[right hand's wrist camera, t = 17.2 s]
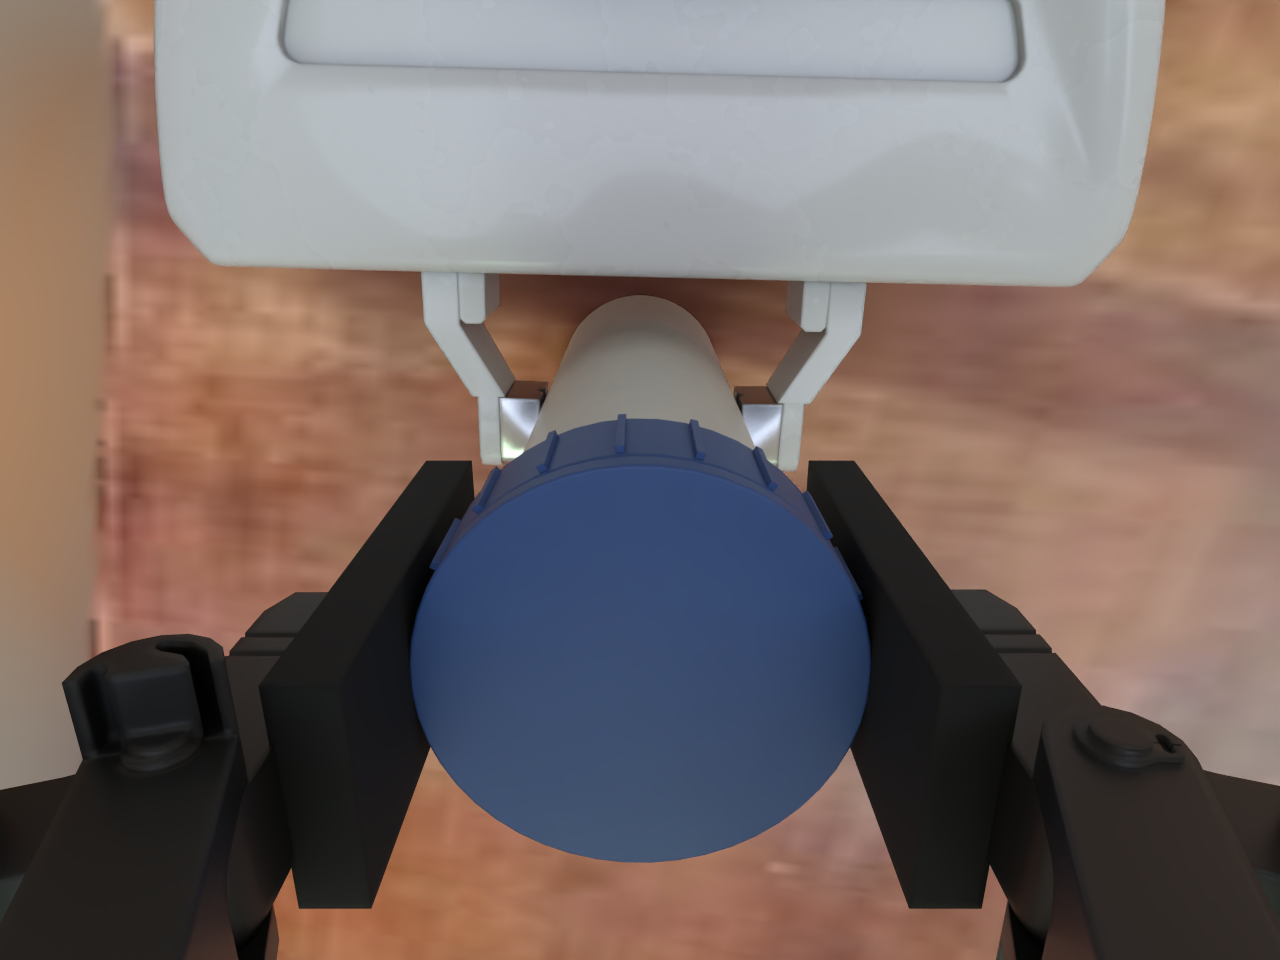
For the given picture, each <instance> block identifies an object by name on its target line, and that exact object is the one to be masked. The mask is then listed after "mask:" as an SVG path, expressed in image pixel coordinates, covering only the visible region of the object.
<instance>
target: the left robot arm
mask: <svg viewBox="0 0 1280 960" xmlns="http://www.w3.org/2000/svg"><path fill="white" fill-rule="evenodd" d="M1165 2H1166V0H154V74H155V99H156V117H157V131H158V145H159V155H160V165H161V176H162V184H163V190H164V197H165V202H166V206H167V209H168V213H169V215H170V217H171V219H172V220H173V222H174V223H175V224H176V226H177V227H178V228H179V229H180V230H181V231H182V232H183V234H184V235H185V236H186V237H187V238H188V239H189V240H190V242H191V243H192V244H193V245H194V246H195V247H196V248H197V250H198V251H199V252H200V253H201V254H202V255H203V256H204V257H205V258H206V259H207V260H208V261H209V262H211V263H213V264H215V265H218V266H224V267H257V268H297V269H338V270H378V271H419V272H421V281H422V296H423V312H424V324H425V325H426V327H427V328H428V330H429V331H430V333H431V335H432V336H433V338H434V339H435V341H436V342H437V344H438V345H439V347H440V348H441V350H442V351H443V353H444V354H445V356H446V357H447V359H448V361H449V362H450V364H451V365H452V367H453V368H454V370H455V371H456V373H457V374H458V376H459V377H460V379H461V380H462V382H463V383H464V385H465V386H466V388H467V390H468V391H469V393H470V394H471V396H473V397H478V418H479V440H480V457H481V460H482V464H487V465H500V466H503V465H507V464H508V463H510V462H511V461H513V460H514V459H515V458H517V457H518V456H519V455H521V454H522V453H523V451H524V449H525V446H526V444H527V442H528V439H529V437H530V435H531V432H532V430H533V427H534V425H535V423H536V420H537V418H538V416H539V413H540V411H541V409H542V406H543V404H544V401H545V399H546V397H547V394H548V383H547V382H537V381H516V380H515V377H514V375H513V373H512V372H511V370H510V368H509V367H508V365H507V363H506V361H505V360H504V358H503V356H502V354H501V353H500V351H499V349H498V348H497V346H496V344H495V342H494V341H493V339H492V337H491V335H490V334H489V332H488V330H487V328H486V327H485V325H484V323H483V321H484V320H485V319H487V318H488V317H489V316H490V315H491V314H492V313H493V312H494V311H495V310H496V309H497V308H498V307H499V306H500V277H499V273H500V274H541V275H581V276H622V277H662V278H703V279H743V280H784V281H788V282H787V297H786V314H787V315H788V316H789V317H790V318H791V319H792V320H793V321H794V322H795V323H796V324H797V325H799V326H800V327H801V328H802V330H801V332H800V333H799V335H798V336H797V338H796V339H795V341H794V342H793V344H792V345H791V347H790V349H789V350H788V352H787V353H786V355H785V356H784V358H783V359H782V361H781V362H780V364H779V365H778V367H777V369H776V370H775V372H774V373H773V375H772V376H771V378H770V379H769V381H768V382H767V384H766V385H767V386H734V398H735V400H736V403H737V405H738V408H739V410H740V412H741V415H742V417H743V419H744V422H745V424H746V426H747V429H748V431H749V433H750V436H751V438H752V441H753V443H754V445H755V447H756V446H758V447H760V448H761V449H763V451H764V454H765V456H766V458H767V460H768V461H769V462H771V463H772V464H773V465H775V466H776V467H777V468H778V469H780V470H781V471H782V472H795V471H796V470H797V466H798V463H799V456H800V445H801V435H802V424H803V414H804V405H806V404H810V403H811V402H812V401H813V399H814V398H815V397H816V395H817V394H818V392H819V391H820V390H821V388H822V387H823V386H824V384H825V383H826V382H827V380H828V379H829V377H830V376H831V375H832V373H833V372H834V371H835V369H836V368H837V366H838V365H839V364H840V362H841V361H842V360H843V358H844V357H845V356H846V354H847V353H848V351H849V350H850V349H851V347H852V346H853V345H854V343H855V342H856V341H857V339H858V338H859V336H860V335H861V329H862V320H863V312H864V304H865V295H866V287H867V283H906V284H946V285H987V286H1028V287H1072V286H1076V285H1078V284H1080V283H1081V282H1083V281H1084V280H1085V279H1086V278H1087V277H1088V276H1089V275H1091V274H1092V273H1093V272H1094V271H1095V270H1096V269H1097V268H1098V267H1099V266H1100V264H1101V263H1102V262H1103V261H1104V260H1105V259H1106V258H1107V257H1108V256H1109V255H1110V254H1111V253H1112V252H1113V251H1114V249H1115V248H1116V247H1117V246H1118V245H1119V244H1120V243H1121V242H1122V240H1123V238H1124V237H1125V235H1126V233H1127V230H1128V228H1129V225H1130V222H1131V219H1132V216H1133V212H1134V208H1135V204H1136V200H1137V196H1138V192H1139V187H1140V182H1141V177H1142V172H1143V167H1144V162H1145V156H1146V151H1147V146H1148V140H1149V134H1150V128H1151V122H1152V116H1153V110H1154V103H1155V95H1156V87H1157V80H1158V72H1159V64H1160V55H1161V46H1162V36H1163V27H1164V15H1165Z"/></svg>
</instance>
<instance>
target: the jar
mask: <svg viewBox="0 0 1280 960" xmlns="http://www.w3.org/2000/svg"><path fill="white" fill-rule="evenodd" d="M618 414H626V419H630V418H631V419H662V420H669V421H676V422H683V423H688V424H689V422H690V419H693V420H697V421H698V423H699V427H702V428H706V429H709V430H713V431H715V432H718V433H720V434H722V435H725V436H727V437H729V438H732V439H734V440H736V441H738V442H740V443H742V444H744V445H745V446H747V447H749V448H750V449H752V450H754V448H755V445H754V443H753V441H752V438H751V436H750V433H749V431H748V429H747V426H746V424H745V422H744V419H743V417H742V415H741V412H740V410H739V408H738V405H737V403H736V400H735V398H734V396H733V393H732V391H731V389H730V386H729V384H728V382H727V379H726V377H725V375H724V372H723V370H722V367H721V365H720V363H719V360H718V358H717V356H716V353H715V351H714V349H713V346H712V344H711V341H710V339H709V337H708V335H707V334H706V332H705V330H704V329H703V327H702V326H701V325H700V323H699V322H698V321H697V320H696V319H695V318H694V317H693V316H692V315H691V314H690V313H689V312H687V311H686V310H685V309H684V308H682V307H680V306H678V305H677V304H675V303H673V302H670V301H668V300H666V299H662V298H659V297H654V296H647V295H633V296H626V297H622V298H618V299H615V300H612V301H610V302H607V303H605V304H604V305H602V306H600V307H598V308H597V309H595V310H594V311H593V312H592V313H590V314H589V315H588V316H587V317H586V318H585V319H584V320H583V321H582V322H581V324H580V325H579V326H578V328H577V329H576V330H575V332H574V334H573V336H572V338H571V340H570V342H569V344H568V347H567V349H566V352H565V354H564V356H563V359H562V361H561V363H560V366H559V368H558V371H557V373H556V375H555V378H554V380H553V382H552V385H551V387H550V390H549V392H548V394H547V397H546V399H545V401H544V404H543V406H542V409H541V411H540V413H539V416H538V418H537V420H536V423H535V425H534V427H533V430H532V432H531V435H530V437H529V439H528V442H527V444H526V446H525V449H524V451H523V452H525V451H526V450H528V449H530V448H532V447H534V446H536V445H537V444H539V443H541V442H543V441H545V440H546V438H547V435H548V433H549V432H551V431H554V430H556V432H557V434H561V433H564V432H566V431H569V430H571V429H574V428H578V427H582V426H586V425H590V424H594V423H598V422H603V421H612V420H617V419H618Z"/></svg>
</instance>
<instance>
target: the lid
mask: <svg viewBox="0 0 1280 960" xmlns="http://www.w3.org/2000/svg"><path fill="white" fill-rule="evenodd" d="M832 537H833V535H832V533H831V532H830V530H829V528H828V526H827V524H826V522H825V520H824V518H823V517H822V515H821V513H820V511H819V509H818V507H817V505H816V503H815V502H814V500H813V498H812V496H811V495H810V493H809V492H808V491H805V492H804V493H803V494H802V493H801V491H800V490H799V489H798V488H797V487H796V486H795V485H794V483H793V482H792V481H791V480H790V479H789V478H788V477H787V476H786V475H785V474H784V473H783V472H782V471H781V470H780V469H778V468H777V467H776V466H775V465H773V464H772V463H771V462H769V461H768V460H767V458H766V456H765V454H764V451H763V449H761V448H760V447H758V446H756V447H755V448H754V450H752V449H750V448H749V447H747V446H745V445H744V444H742V443H740V442H738V441H736V440H734V439H732V438H729V437H727V436H725V435H722V434H720V433H718V432H715V431H713V430H709V429H706V428H702V427H699V423H698V421H697V420H693V419H690V422H689V424H688V423H683V422H676V421H669V420H662V419H631V418H630V419H626V414H618V419H617V420H612V421H603V422H598V423H594V424H590V425H586V426H582V427H578V428H574V429H571V430H569V431H566V432H564V433H561V434H557V432H556V430H554V431H551V432H549V433H548V435H547V438H546V440H545V441H543V442H541V443H539V444H537V445H536V446H534V447H532V448H530V449H528V450H526V451H525V452H523V453H522V454H521V455H519V456H518V457H517V458H515V459H514V460H513V461H511V462H510V463H508V464H507V465H506V466H504V467H503V468H502V469H501V470H499V469H498V468H497V467H495V468H494V469H493V470H492V471H491V472H490V474H489V476H488V478H487V480H486V482H485V484H484V486H483V488H482V490H481V491H480V493H479V494H478V495H477V496H476V498H475V499H474V500H473V502H472V503H471V504H470V506H469V508H468V509H467V511H466V513H465V515H464V516H463V518H462V520H459V519H457V518H455V520H454V522H453V523H452V525H451V527H450V529H449V531H448V533H447V535H446V536H445V538H444V540H443V542H442V544H441V546H440V548H439V549H438V551H437V553H436V555H435V557H434V559H433V561H432V562H431V564H430V566H429V568H431V569H433V570H435V572H434V574H433V576H432V577H431V579H430V581H429V583H428V585H427V587H426V589H425V592H424V595H423V597H422V600H421V602H420V605H419V608H418V610H417V613H416V617H415V622H414V626H413V631H412V636H411V643H410V674H411V683H412V693H413V699H414V703H415V707H416V711H417V716H418V719H419V721H420V724H421V726H422V729H423V731H424V733H425V736H426V738H427V741H428V743H429V744H430V746H431V748H432V750H433V751H434V753H435V755H436V757H437V758H438V760H439V762H440V763H441V765H442V766H443V767H444V769H445V770H446V771H447V773H448V774H449V775H450V776H451V778H452V779H453V780H454V782H455V783H456V784H457V785H458V786H459V787H460V788H461V789H462V790H463V791H464V792H465V793H466V794H467V795H468V796H469V797H470V798H471V799H472V800H473V801H474V802H475V803H476V804H477V805H479V806H480V807H481V808H482V809H484V810H485V811H486V812H488V813H489V814H490V815H491V816H493V817H494V818H495V819H497V820H498V821H500V822H502V823H503V824H505V825H507V826H508V827H510V828H511V829H513V830H515V831H516V832H518V833H520V834H522V835H524V836H526V837H529V838H531V839H533V840H535V841H537V842H539V843H542V844H544V845H547V846H550V847H553V848H556V849H559V850H562V851H565V852H568V853H571V854H576V855H580V856H585V857H589V858H594V859H600V860H609V861H617V862H649V863H651V862H662V861H673V860H681V859H686V858H691V857H696V856H701V855H706V854H709V853H712V852H716V851H719V850H722V849H725V848H729V847H732V846H734V845H736V844H739V843H741V842H743V841H746V840H748V839H750V838H753V837H755V836H757V835H759V834H760V833H762V832H764V831H766V830H767V829H769V828H771V827H773V826H774V825H776V824H778V823H780V822H781V821H782V820H784V819H785V818H786V817H788V816H789V815H791V814H792V813H793V812H795V811H796V810H797V809H799V808H800V807H801V806H802V805H803V804H804V803H805V802H807V801H808V800H809V799H810V798H811V797H812V796H813V795H814V794H815V793H816V792H817V791H818V790H819V789H820V788H821V787H822V786H823V785H824V783H825V782H826V781H827V780H828V779H829V777H830V776H831V775H832V774H833V773H834V771H835V770H836V769H837V767H838V766H839V764H840V762H841V761H842V759H843V758H844V756H845V754H846V753H847V751H848V750H849V748H850V746H851V744H852V742H853V740H854V737H855V735H856V733H857V731H858V728H859V726H860V724H861V721H862V717H863V714H864V710H865V707H866V703H867V697H868V688H869V679H870V670H871V644H870V638H869V633H868V627H867V621H866V617H865V614H864V612H863V609H862V606H861V603H860V600H863V596H862V593H861V591H860V589H859V587H858V585H857V583H856V581H855V579H854V578H853V576H852V574H851V572H850V570H849V568H848V566H847V564H846V562H845V561H844V559H843V557H842V555H841V553H840V551H839V549H838V547H833V546H832V544H831V542H830V540H829V539H830V538H832Z"/></svg>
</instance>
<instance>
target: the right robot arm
mask: <svg viewBox="0 0 1280 960" xmlns="http://www.w3.org/2000/svg"><path fill="white" fill-rule="evenodd" d="M807 491H808V492H809V493H810V495H811V496H812V498H813V500H814V502H815V503H816V505H817V507H818V509H819V511H820V513H821V515H822V517H823V518H824V520H825V522H826V524H827V526H828V528H829V530H830V532H831V533H832V535H833V537H832V538H830V539H829V540H830V542H831V544H832V546H833V547H838V549H839V551H840V553H841V555H842V557H843V559H844V561H845V562H846V564H847V566H848V568H849V570H850V572H851V574H852V576H853V578H854V579H855V581H856V583H857V585H858V587H859V589H860V591H861V593H862V596H863V600H860V603H861V606H862V609H863V612H864V614H865V617H866V621H867V627H868V633H869V638H870V644H871V670H870V679H869V688H868V697H867V703H866V707H865V710H864V714H863V717H862V721H861V724H860V726H859V728H858V731H857V733H856V735H855V737H854V740H853V742H852V744H851V746H850V748H851V751H852V754H853V756H854V759H855V762H856V765H857V767H858V770H859V773H860V775H861V778H862V781H863V784H864V786H865V789H866V792H867V795H868V797H869V800H870V803H871V805H872V808H873V811H874V814H875V816H876V819H877V822H878V825H879V827H880V830H881V833H882V836H883V838H884V841H885V844H886V846H887V849H888V852H889V855H890V857H891V860H892V863H893V866H894V868H895V871H896V874H897V876H898V879H899V882H900V885H901V887H902V890H903V893H904V896H905V898H906V901H907V904H908V907H909V909H982V903H983V898H984V892H985V887H986V881H987V876H988V871H989V865H990V866H991V868H992V870H993V872H994V874H995V876H996V878H997V879H998V881H999V883H1000V885H1001V887H1002V889H1003V891H1004V893H1005V895H1006V897H1007V899H1008V901H1007V906H1006V912H1005V917H1004V922H1003V927H1002V932H1001V937H1000V942H999V947H998V952H997V957H996V960H1280V786H1277V785H1272V784H1267V783H1262V782H1256V781H1251V780H1246V779H1241V778H1236V777H1231V776H1226V775H1221V774H1217V773H1213V772H1209V771H1205V770H1203V769H1202V767H1201V765H1200V763H1199V761H1198V759H1197V758H1196V756H1195V755H1194V754H1193V753H1192V751H1191V750H1190V749H1189V748H1188V747H1187V745H1186V744H1185V743H1184V742H1183V741H1182V740H1181V739H1179V738H1178V737H1176V736H1175V735H1174V734H1172V733H1171V732H1169V731H1168V730H1166V729H1165V728H1163V727H1162V726H1161V725H1159V724H1156V723H1154V722H1152V721H1150V720H1147V719H1145V718H1143V717H1140V716H1138V715H1136V714H1133V713H1131V712H1127V711H1123V710H1119V709H1115V708H1110V707H1106V706H1101V705H1100V703H1099V702H1098V701H1097V700H1096V699H1095V698H1094V697H1093V695H1092V694H1091V693H1090V692H1089V691H1088V690H1087V688H1086V687H1085V686H1084V685H1083V684H1082V683H1081V682H1080V680H1079V679H1078V678H1077V677H1076V676H1075V675H1074V674H1073V672H1072V671H1071V670H1070V669H1069V668H1068V667H1067V665H1066V664H1065V663H1064V662H1063V661H1062V660H1061V659H1060V657H1059V656H1058V655H1057V654H1056V653H1052V648H1051V647H1050V646H1049V645H1048V644H1047V642H1046V641H1045V640H1044V639H1043V638H1042V637H1041V635H1036V630H1035V629H1034V627H1033V626H1032V625H1031V624H1030V623H1029V622H1028V621H1027V619H1026V618H1025V617H1024V616H1023V615H1022V614H1021V612H1020V611H1019V610H1018V609H1017V608H1015V607H1014V606H1012V605H1010V604H1009V603H1007V602H1005V601H1004V600H1002V599H1000V598H999V597H997V596H995V595H994V594H992V593H990V592H988V591H987V590H950V588H949V587H948V586H947V584H946V583H945V582H944V580H943V579H942V578H941V576H940V575H939V574H938V572H937V571H936V570H935V568H934V567H933V566H932V564H931V563H930V562H929V560H928V559H927V558H926V556H925V555H924V554H923V552H922V551H921V550H920V548H919V547H918V546H917V544H916V543H915V542H914V540H913V539H912V538H911V536H910V535H909V534H908V532H907V531H906V530H905V528H904V527H903V526H902V524H901V523H900V522H899V520H898V519H897V517H896V516H895V515H894V513H893V512H892V511H891V509H890V508H889V507H888V505H887V504H886V503H885V501H884V500H883V499H882V497H881V496H880V495H879V493H878V492H877V491H876V489H875V488H874V487H873V485H872V484H871V483H870V481H869V480H868V479H867V477H866V476H865V475H864V473H863V472H862V471H861V469H860V468H859V467H858V465H857V464H856V463H855V461H809V466H808V479H807ZM473 500H474V486H473V472H472V461H426V462H425V463H424V465H423V466H422V467H421V469H420V470H419V471H418V473H417V474H416V475H415V477H414V478H413V479H412V481H411V482H410V483H409V485H408V486H407V487H406V489H405V490H404V491H403V493H402V494H401V495H400V497H399V498H398V499H397V501H396V502H395V503H394V505H393V506H392V508H391V509H390V510H389V512H388V513H387V514H386V516H385V517H384V518H383V520H382V521H381V522H380V524H379V525H378V526H377V528H376V529H375V530H374V532H373V533H372V534H371V536H370V537H369V538H368V540H367V541H366V542H365V544H364V545H363V546H362V548H361V549H360V550H359V552H358V553H357V554H356V556H355V557H354V558H353V560H352V561H351V562H350V564H349V565H348V566H347V568H346V569H345V570H344V572H343V573H342V575H341V576H340V577H339V579H338V580H337V581H336V583H335V584H334V585H333V587H332V588H331V589H330V591H329V592H295V593H294V594H292V595H290V596H289V597H287V598H285V599H284V600H282V601H280V602H279V603H277V604H275V605H274V606H272V607H270V608H269V609H267V610H265V611H264V612H263V613H262V614H261V615H260V617H259V618H258V619H257V620H256V621H255V622H254V624H253V625H252V626H251V627H250V628H249V629H248V630H247V632H246V633H245V637H241V639H240V640H239V641H238V642H237V643H236V644H235V646H234V647H233V648H232V649H231V650H230V654H229V656H225V657H224V652H223V647H222V646H220V645H219V644H218V643H216V642H215V641H214V640H212V639H211V638H207V637H202V636H197V635H191V634H178V635H160V636H156V637H151V638H146V639H142V640H137V641H132V642H129V643H126V644H124V645H121V646H118V647H116V648H113V649H110V650H108V651H105V652H102V653H100V654H99V655H97V656H95V657H94V658H92V659H90V660H89V661H87V662H85V663H83V664H82V665H80V666H78V667H77V668H76V669H75V670H74V671H73V672H72V673H71V674H70V675H69V676H68V677H67V678H66V679H65V680H64V681H63V682H62V685H63V689H64V693H65V696H66V700H67V704H68V707H69V711H70V714H71V718H72V722H73V725H74V729H75V733H76V736H77V740H78V743H79V747H80V751H81V754H82V758H83V761H82V762H81V764H80V766H79V768H78V770H77V772H76V774H75V775H71V776H67V777H63V778H58V779H53V780H48V781H43V782H39V783H33V784H28V785H23V786H18V787H13V788H8V789H3V790H0V960H276V959H277V952H278V944H279V936H278V929H277V922H276V917H275V912H274V906H273V903H274V901H275V899H276V897H277V895H278V893H279V891H280V889H281V887H282V885H283V883H284V881H285V879H286V877H287V875H288V873H289V871H290V869H291V868H292V873H293V878H294V884H295V889H296V895H297V900H298V906H299V909H371V908H372V905H373V903H374V900H375V897H376V894H377V892H378V889H379V886H380V883H381V881H382V878H383V875H384V872H385V870H386V867H387V864H388V862H389V859H390V856H391V853H392V851H393V848H394V845H395V842H396V840H397V837H398V834H399V831H400V829H401V826H402V823H403V821H404V818H405V815H406V812H407V810H408V807H409V804H410V801H411V799H412V796H413V793H414V791H415V788H416V785H417V782H418V780H419V777H420V774H421V771H422V769H423V766H424V763H425V760H426V758H427V755H428V752H429V750H430V747H431V746H430V744H429V743H428V741H427V738H426V736H425V733H424V731H423V729H422V726H421V724H420V721H419V719H418V716H417V711H416V707H415V703H414V699H413V693H412V683H411V674H410V643H411V636H412V631H413V626H414V622H415V617H416V613H417V610H418V608H419V605H420V602H421V600H422V597H423V595H424V592H425V589H426V587H427V585H428V583H429V581H430V579H431V577H432V576H433V574H434V572H435V570H433V569H431V568H429V566H430V564H431V562H432V561H433V559H434V557H435V555H436V553H437V551H438V549H439V548H440V546H441V544H442V542H443V540H444V538H445V536H446V535H447V533H448V531H449V529H450V527H451V525H452V523H453V522H454V520H455V518H457V519H459V520H462V518H463V516H464V515H465V513H466V511H467V509H468V508H469V506H470V504H471V503H472V502H473Z"/></svg>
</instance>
